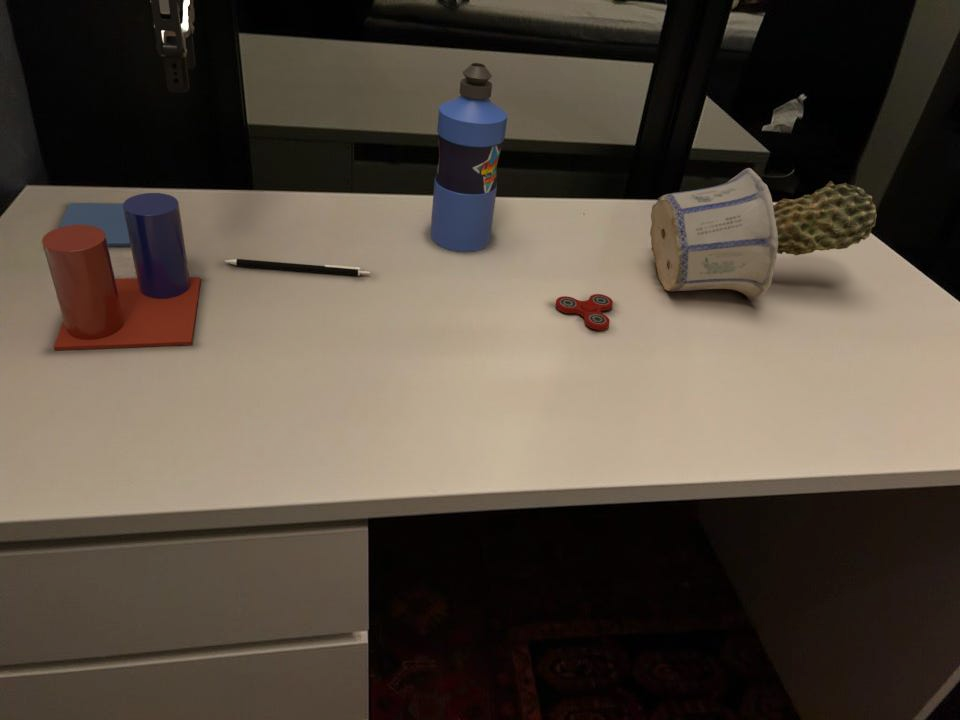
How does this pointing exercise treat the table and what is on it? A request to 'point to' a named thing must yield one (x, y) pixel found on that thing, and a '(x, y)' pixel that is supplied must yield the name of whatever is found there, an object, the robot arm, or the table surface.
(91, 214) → the blue mat
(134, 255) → the dark blue cylinder
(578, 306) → the fidget spinner
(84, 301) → the red cylinder
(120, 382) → the table surface
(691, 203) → the potted plant
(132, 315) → the red mat
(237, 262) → the pen
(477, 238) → the water bottle
